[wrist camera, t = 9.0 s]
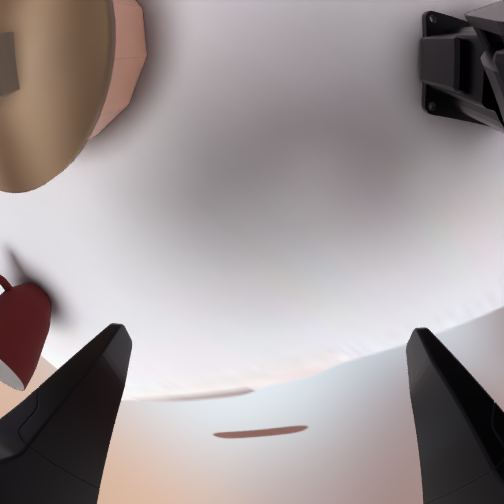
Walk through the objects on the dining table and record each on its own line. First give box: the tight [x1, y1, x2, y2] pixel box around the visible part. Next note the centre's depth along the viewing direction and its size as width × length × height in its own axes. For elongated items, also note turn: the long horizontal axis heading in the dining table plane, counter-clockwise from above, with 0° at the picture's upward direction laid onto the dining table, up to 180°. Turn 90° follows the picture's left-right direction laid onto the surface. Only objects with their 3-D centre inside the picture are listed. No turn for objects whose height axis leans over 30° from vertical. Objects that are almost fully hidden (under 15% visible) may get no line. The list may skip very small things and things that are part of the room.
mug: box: [0, 275, 51, 391], centre depth 23 cm, size 10×8×10 cm
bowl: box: [88, 0, 147, 140], centre depth 12 cm, size 12×12×6 cm
